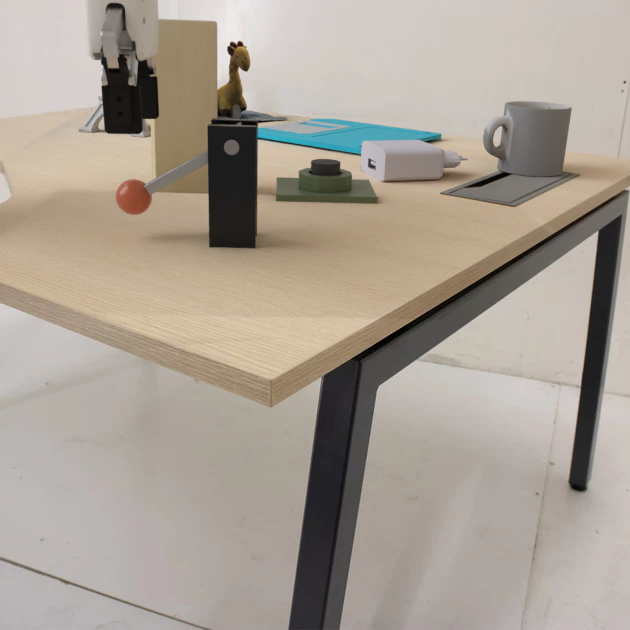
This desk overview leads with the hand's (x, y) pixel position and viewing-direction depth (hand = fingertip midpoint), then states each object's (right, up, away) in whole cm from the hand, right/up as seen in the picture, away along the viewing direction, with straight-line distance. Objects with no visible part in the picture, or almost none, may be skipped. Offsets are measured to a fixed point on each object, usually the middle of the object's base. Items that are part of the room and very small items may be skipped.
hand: (133, 125), depth 74 cm
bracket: (+9, -12, +5) cm, 15 cm away
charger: (+32, +3, +45) cm, 56 cm away
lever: (+5, -5, +2) cm, 8 cm away
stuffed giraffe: (-1, +25, +97) cm, 100 cm away
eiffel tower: (-18, +17, +76) cm, 81 cm away
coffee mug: (+49, +5, +52) cm, 71 cm away
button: (+18, 0, +25) cm, 31 cm away
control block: (+18, -4, +26) cm, 32 cm away
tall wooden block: (0, -1, +31) cm, 31 cm away
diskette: (+22, +16, +75) cm, 80 cm away
